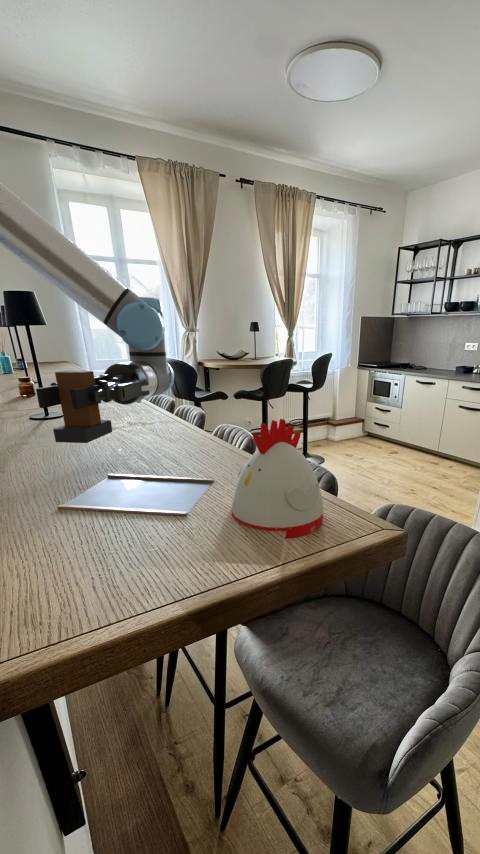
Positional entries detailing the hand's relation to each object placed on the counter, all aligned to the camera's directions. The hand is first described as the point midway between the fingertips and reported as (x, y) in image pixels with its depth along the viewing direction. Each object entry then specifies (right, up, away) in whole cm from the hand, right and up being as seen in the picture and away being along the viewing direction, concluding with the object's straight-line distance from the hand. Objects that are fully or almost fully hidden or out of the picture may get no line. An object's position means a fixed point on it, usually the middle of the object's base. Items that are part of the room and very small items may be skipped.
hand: (57, 399), depth 58 cm
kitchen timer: (+31, -17, +5) cm, 36 cm away
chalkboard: (+9, -14, +10) cm, 20 cm away
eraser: (+1, -4, +7) cm, 9 cm away
